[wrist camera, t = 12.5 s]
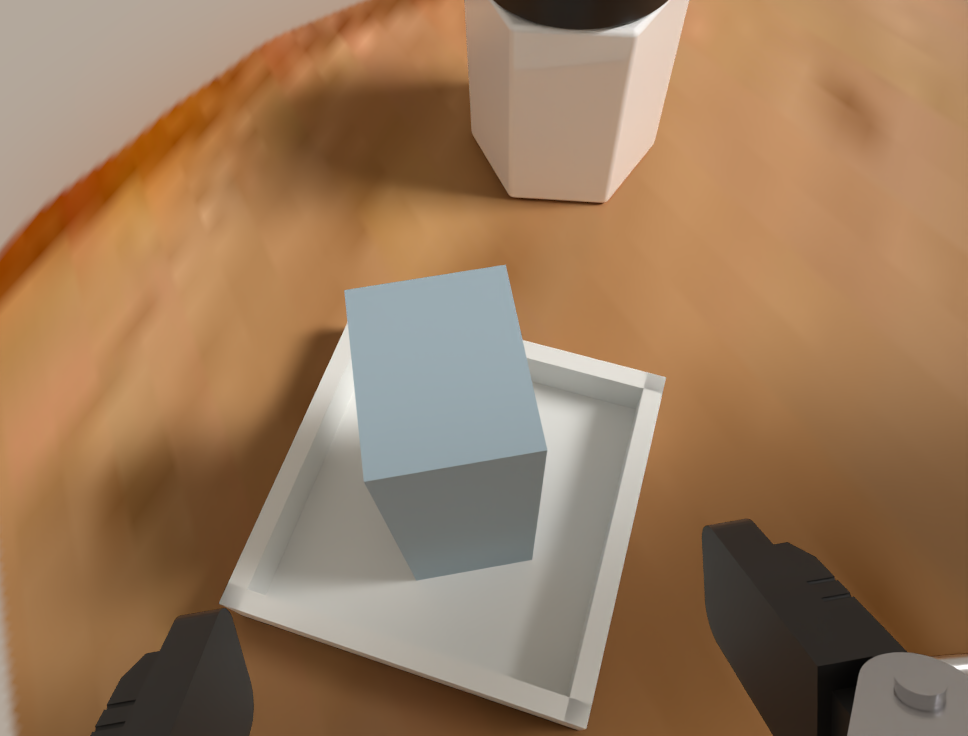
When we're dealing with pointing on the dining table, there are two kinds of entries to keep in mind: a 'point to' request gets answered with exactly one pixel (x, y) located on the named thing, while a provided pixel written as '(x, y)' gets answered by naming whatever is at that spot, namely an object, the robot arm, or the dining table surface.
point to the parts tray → (473, 594)
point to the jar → (568, 90)
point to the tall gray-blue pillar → (448, 419)
